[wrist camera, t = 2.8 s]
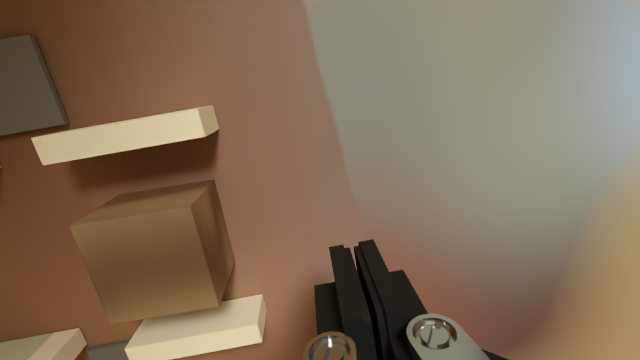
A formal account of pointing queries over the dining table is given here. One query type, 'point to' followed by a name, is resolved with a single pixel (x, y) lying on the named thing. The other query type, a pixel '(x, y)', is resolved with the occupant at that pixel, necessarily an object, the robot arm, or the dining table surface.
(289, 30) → the dining table surface
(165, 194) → the walnut block
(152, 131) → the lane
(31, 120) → the pads
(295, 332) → the dining table surface
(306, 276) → the dining table surface
